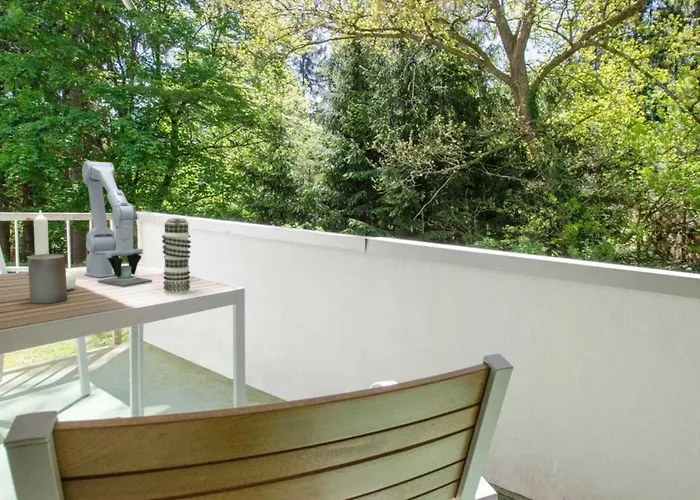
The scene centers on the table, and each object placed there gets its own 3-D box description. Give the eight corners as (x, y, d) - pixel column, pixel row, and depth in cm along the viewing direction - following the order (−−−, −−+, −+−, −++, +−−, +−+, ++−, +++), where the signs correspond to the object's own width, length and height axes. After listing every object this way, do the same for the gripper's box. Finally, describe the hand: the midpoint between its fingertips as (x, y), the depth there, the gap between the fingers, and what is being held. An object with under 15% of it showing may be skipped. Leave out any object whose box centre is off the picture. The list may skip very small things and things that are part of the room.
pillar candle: (59, 295, 158) (57, 248, 156) (72, 300, 152) (70, 252, 150) (24, 300, 150) (22, 251, 148) (36, 305, 144) (33, 254, 142)
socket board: (97, 282, 180) (97, 277, 180) (126, 277, 191) (126, 273, 191) (124, 287, 174) (124, 281, 174) (151, 282, 185) (151, 277, 185)
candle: (27, 275, 188) (24, 209, 185) (43, 273, 195) (41, 209, 192) (41, 277, 186) (39, 210, 183) (57, 274, 193) (55, 210, 190)
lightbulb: (60, 278, 157) (69, 265, 167) (41, 287, 157) (52, 274, 167) (73, 293, 160) (81, 279, 170) (55, 303, 160) (65, 288, 170)
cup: (114, 280, 181) (114, 266, 181) (125, 278, 186) (125, 265, 185) (124, 281, 179) (124, 268, 179) (134, 279, 184) (134, 266, 183)
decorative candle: (162, 289, 172) (161, 217, 169) (190, 288, 176) (190, 218, 173) (162, 295, 164) (161, 219, 161) (191, 294, 167) (191, 219, 164)
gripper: (114, 240, 173) (115, 279, 174) (148, 238, 185) (148, 273, 187) (101, 239, 176) (101, 277, 177) (135, 236, 189) (135, 271, 190)
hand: (125, 275), depth 182 cm, fingers open, 6 cm apart
